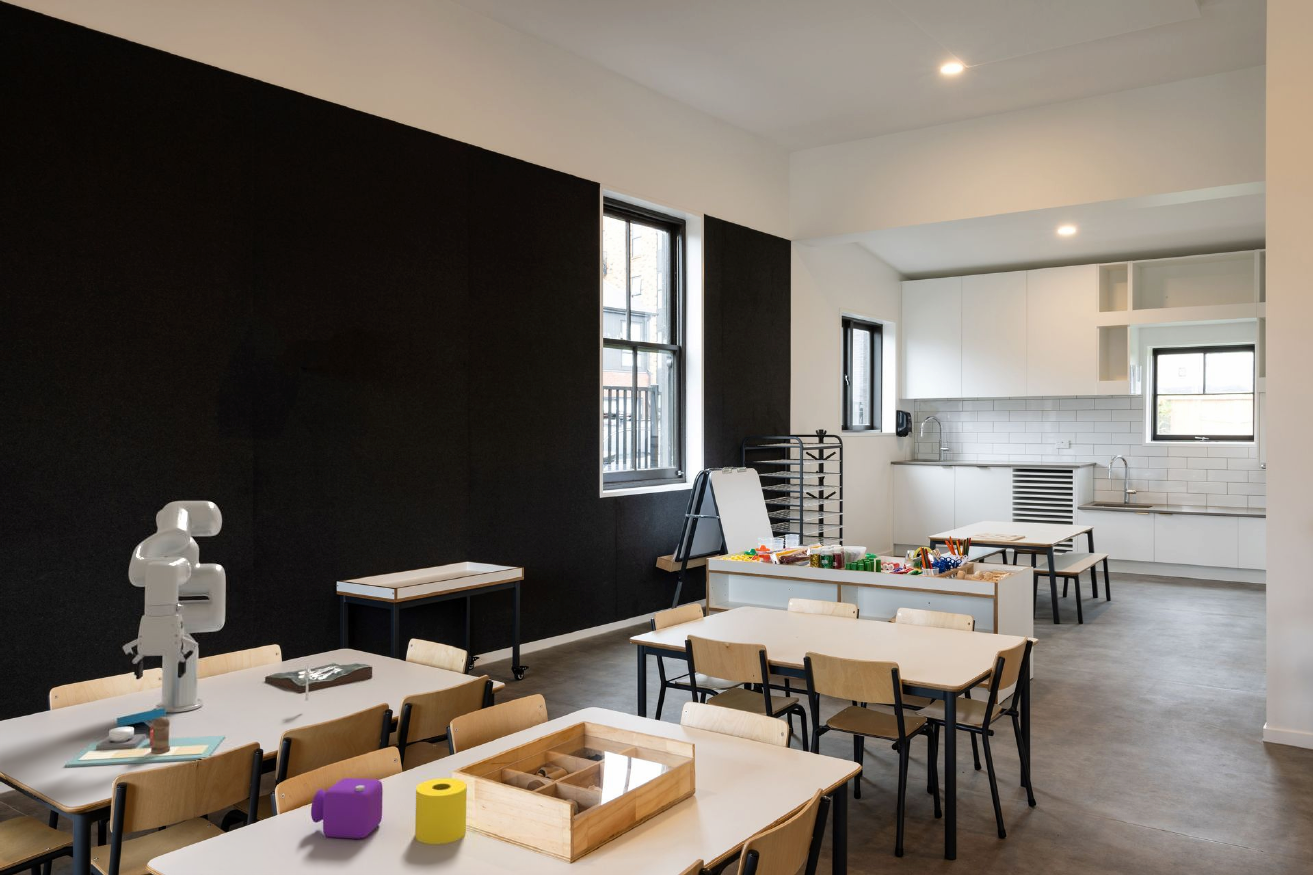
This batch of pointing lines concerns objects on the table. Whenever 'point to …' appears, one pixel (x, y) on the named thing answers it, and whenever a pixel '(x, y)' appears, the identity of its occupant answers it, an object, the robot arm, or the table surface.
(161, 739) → the pawn
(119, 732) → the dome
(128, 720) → the lever
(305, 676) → the relief map
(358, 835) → the toy camera
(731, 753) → the table surface
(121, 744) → the board
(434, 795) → the yellow toilet paper roll
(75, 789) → the table surface
